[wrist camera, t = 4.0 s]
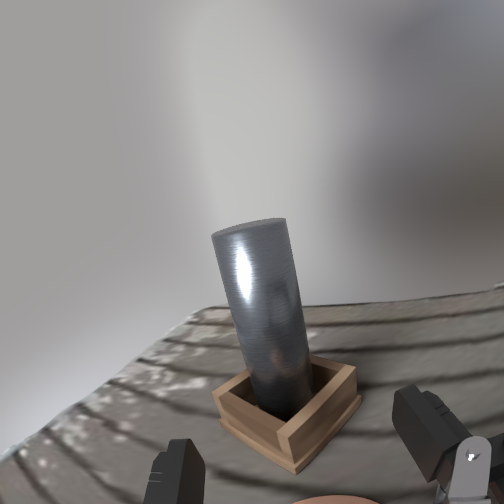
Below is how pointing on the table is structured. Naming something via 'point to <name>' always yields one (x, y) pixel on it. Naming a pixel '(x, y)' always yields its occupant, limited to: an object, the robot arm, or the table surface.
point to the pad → (336, 500)
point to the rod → (267, 313)
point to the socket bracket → (301, 425)
